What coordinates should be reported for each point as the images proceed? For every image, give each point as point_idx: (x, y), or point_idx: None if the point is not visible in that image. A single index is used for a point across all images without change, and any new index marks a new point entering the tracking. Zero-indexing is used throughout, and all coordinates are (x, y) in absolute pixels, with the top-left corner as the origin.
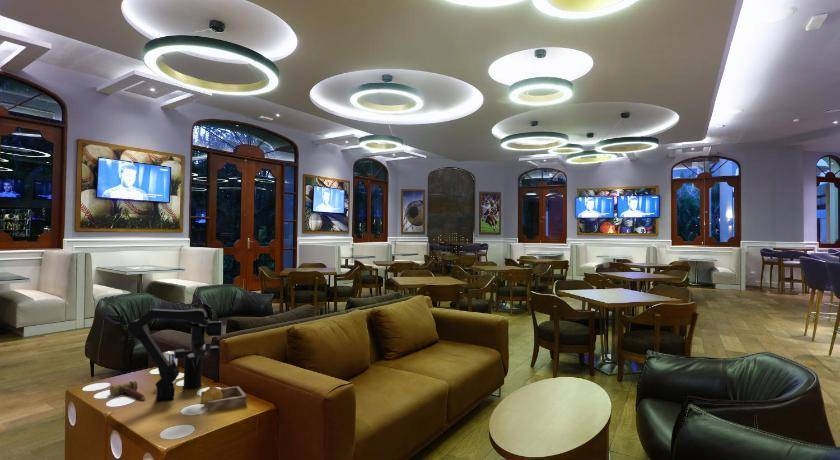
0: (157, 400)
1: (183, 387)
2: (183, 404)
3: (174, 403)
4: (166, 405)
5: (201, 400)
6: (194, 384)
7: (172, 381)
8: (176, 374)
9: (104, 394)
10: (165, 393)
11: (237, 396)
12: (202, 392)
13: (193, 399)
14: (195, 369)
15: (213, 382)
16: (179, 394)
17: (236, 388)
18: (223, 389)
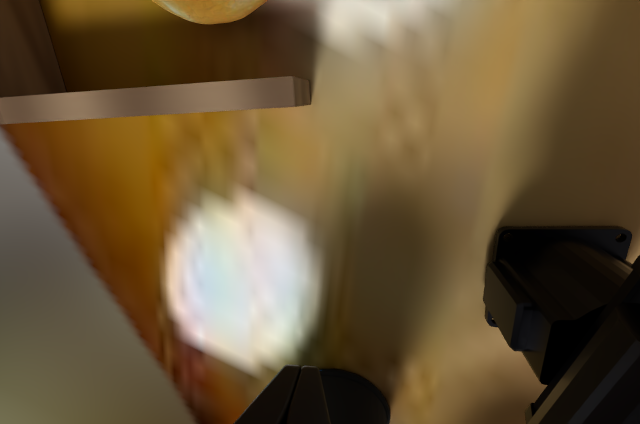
0: (624, 241)
1: (388, 411)
2: (451, 73)
3: (510, 135)
4: (582, 114)
5: (308, 84)
6: (325, 395)
7: (629, 309)
8: (632, 402)
9: None
10: (596, 259)
11: (41, 41)
12: (287, 77)
13: (359, 164)
14: (319, 386)
15: (218, 415)
16: (431, 316)
17: (1, 88)
18: (100, 90)
